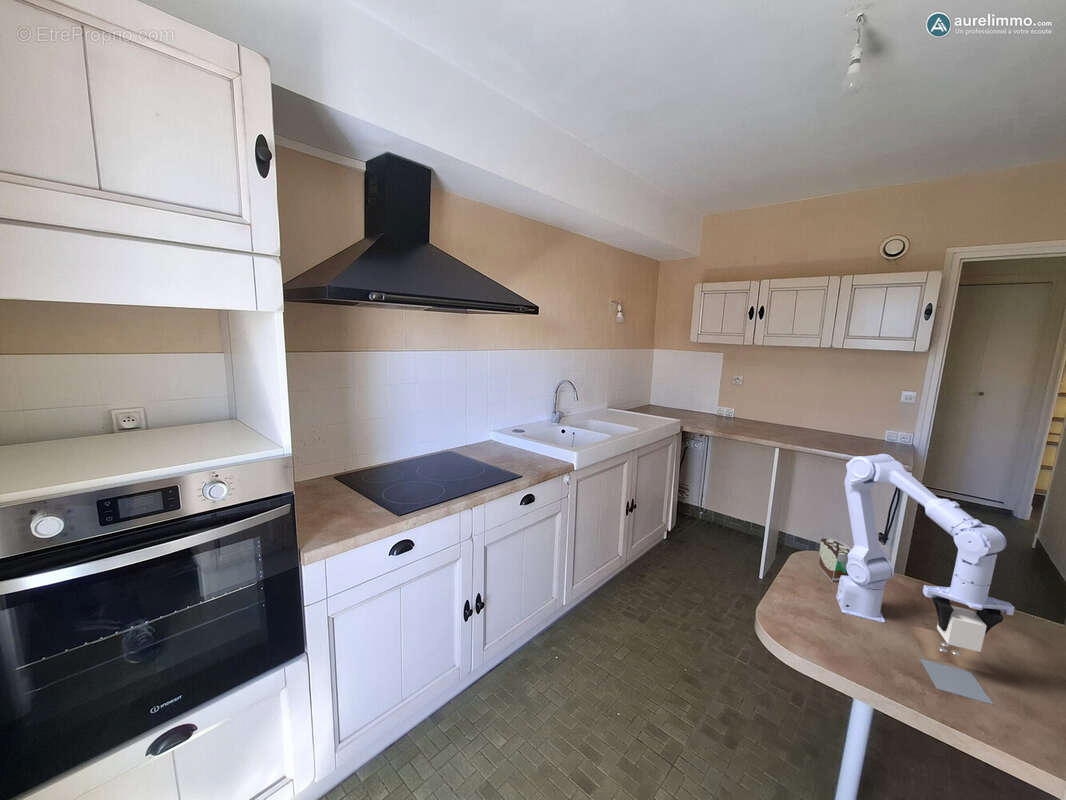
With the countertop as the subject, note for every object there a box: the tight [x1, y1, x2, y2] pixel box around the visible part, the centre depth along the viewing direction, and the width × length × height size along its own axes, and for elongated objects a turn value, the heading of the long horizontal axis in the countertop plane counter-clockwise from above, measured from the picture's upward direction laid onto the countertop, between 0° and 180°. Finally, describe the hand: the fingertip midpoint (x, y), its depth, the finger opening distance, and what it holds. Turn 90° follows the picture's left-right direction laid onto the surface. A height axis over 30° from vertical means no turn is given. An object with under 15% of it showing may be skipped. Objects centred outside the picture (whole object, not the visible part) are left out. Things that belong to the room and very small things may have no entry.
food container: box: [817, 535, 852, 584], centre depth 131 cm, size 12×6×10 cm, turn 168°
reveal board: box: [906, 624, 995, 676], centre depth 102 cm, size 12×12×1 cm
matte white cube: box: [936, 605, 987, 653], centre depth 95 cm, size 6×6×6 cm
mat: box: [919, 658, 994, 705], centre depth 93 cm, size 9×9×1 cm
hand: (959, 632), depth 95 cm, fingers closed on matte white cube, 5 cm apart
